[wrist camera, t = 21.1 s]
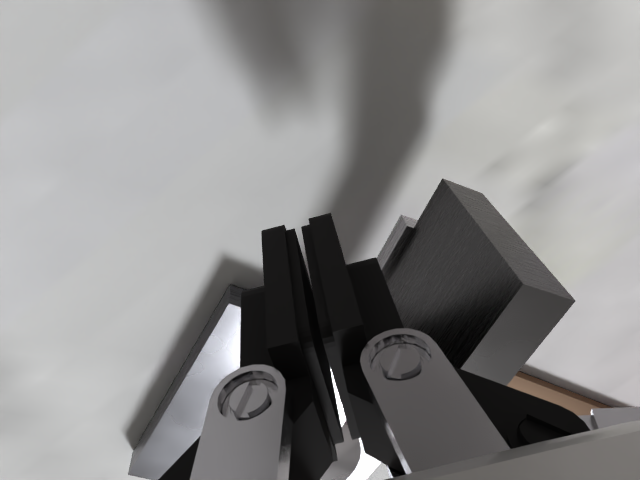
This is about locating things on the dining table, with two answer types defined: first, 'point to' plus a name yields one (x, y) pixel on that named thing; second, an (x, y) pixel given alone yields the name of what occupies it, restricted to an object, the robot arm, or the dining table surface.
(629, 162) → the dining table surface
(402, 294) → the crank
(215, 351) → the winch base
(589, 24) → the dining table surface
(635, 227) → the dining table surface
